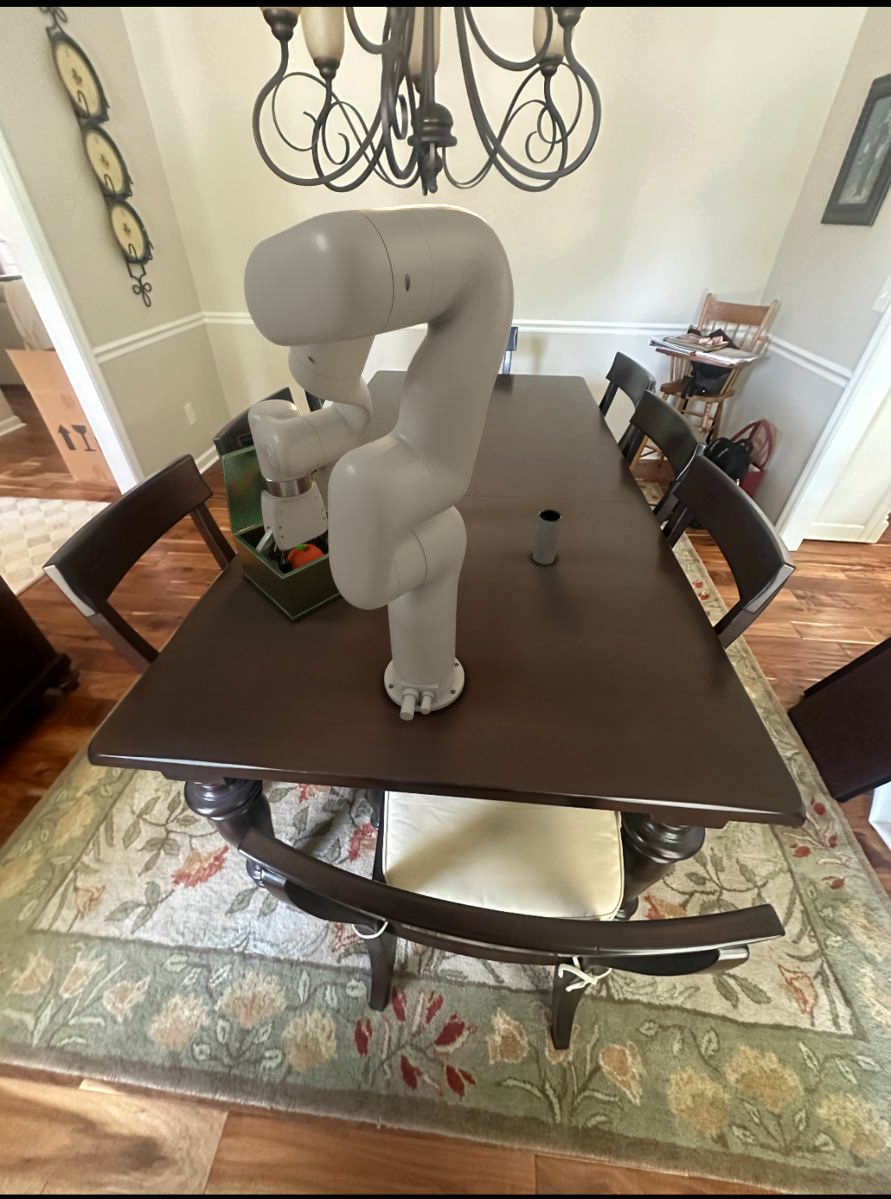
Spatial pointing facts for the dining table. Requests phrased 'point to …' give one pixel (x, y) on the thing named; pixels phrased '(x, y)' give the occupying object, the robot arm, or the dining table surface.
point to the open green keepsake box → (286, 576)
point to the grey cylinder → (547, 536)
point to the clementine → (303, 555)
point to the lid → (243, 485)
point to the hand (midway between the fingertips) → (306, 567)
